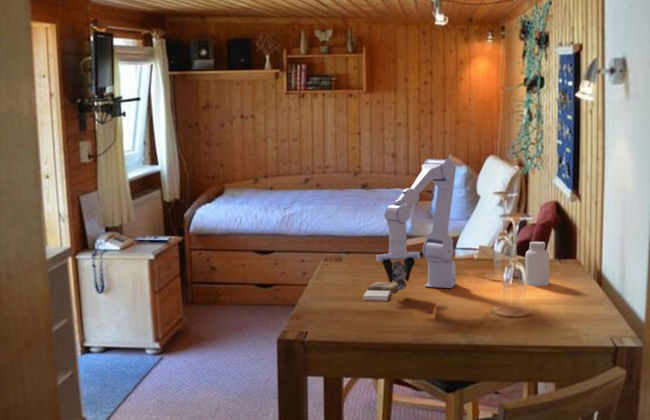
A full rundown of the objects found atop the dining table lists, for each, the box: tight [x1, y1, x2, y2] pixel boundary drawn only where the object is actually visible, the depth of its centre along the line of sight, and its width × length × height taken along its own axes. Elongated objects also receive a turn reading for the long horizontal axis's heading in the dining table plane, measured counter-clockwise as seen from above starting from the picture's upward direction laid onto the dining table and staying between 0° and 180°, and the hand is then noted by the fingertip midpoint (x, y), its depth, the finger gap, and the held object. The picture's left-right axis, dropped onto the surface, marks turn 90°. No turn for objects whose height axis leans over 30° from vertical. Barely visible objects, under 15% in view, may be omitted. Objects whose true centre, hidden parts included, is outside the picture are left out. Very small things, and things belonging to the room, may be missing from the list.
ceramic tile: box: [362, 289, 391, 302], centre depth 266 cm, size 8×8×2 cm
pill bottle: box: [525, 241, 550, 287], centre depth 277 cm, size 8×8×15 cm
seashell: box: [392, 260, 407, 291], centre depth 264 cm, size 5×5×10 cm
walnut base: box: [367, 281, 398, 294], centre depth 276 cm, size 9×9×2 cm
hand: (398, 281), depth 264 cm, fingers closed on seashell, 5 cm apart
